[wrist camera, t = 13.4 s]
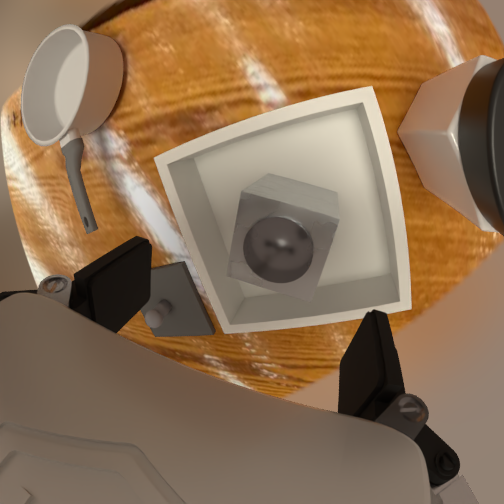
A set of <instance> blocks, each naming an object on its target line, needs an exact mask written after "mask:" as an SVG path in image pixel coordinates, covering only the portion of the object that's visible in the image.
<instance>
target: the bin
mask: <svg viewBox="0 0 504 504" xmlns="http://www.w3.org/2000/svg"><path fill="white" fill-rule="evenodd" d="M154 160H155V163H156V166H157V169H158V171H159V174H160V177H161V180H162V183H163V185H164V188H165V191H166V194H167V196H168V199H169V202H170V205H171V207H172V210H173V213H174V215H175V218H176V220H177V223H178V226H179V228H180V231H181V233H182V236H183V238H184V241H185V243H186V246H187V248H188V251H189V253H190V256H191V258H192V261H193V263H194V266H195V268H196V270H197V273H198V275H199V278H200V280H201V282H202V285H203V287H204V289H205V292H206V294H207V296H208V298H209V301H210V303H211V305H212V308H213V310H214V312H215V314H216V316H217V319H218V321H219V323H220V325H221V327H222V330H223V332H224V334H230V333H244V332H256V331H268V330H278V329H288V328H296V327H305V326H313V325H321V324H328V323H335V322H342V321H348V320H355V319H361V318H364V316H365V314H366V313H367V312H368V311H369V312H371V311H372V310H373V309H375V310H378V311H382V312H385V313H387V314H389V313H394V312H399V311H404V310H409V309H411V283H410V267H409V255H408V245H407V236H406V228H405V220H404V213H403V207H402V201H401V195H400V190H399V184H398V179H397V174H396V169H395V165H394V160H393V156H392V152H391V148H390V144H389V140H388V136H387V132H386V129H385V125H384V122H383V118H382V115H381V112H380V108H379V105H378V102H377V99H376V96H375V93H374V90H373V87H372V86H370V87H364V88H359V89H354V90H349V91H345V92H340V93H336V94H331V95H327V96H323V97H319V98H315V99H311V100H307V101H304V102H300V103H296V104H293V105H289V106H286V107H283V108H279V109H276V110H273V111H270V112H267V113H263V114H260V115H257V116H254V117H251V118H249V119H246V120H243V121H240V122H237V123H235V124H232V125H229V126H226V127H224V128H221V129H219V130H216V131H214V132H211V133H209V134H206V135H204V136H201V137H199V138H196V139H194V140H192V141H189V142H187V143H185V144H182V145H180V146H178V147H176V148H173V149H171V150H169V151H167V152H165V153H163V154H161V155H158V156H156V157H154ZM268 173H270V174H274V175H278V176H282V177H286V178H289V179H293V180H297V181H300V182H304V183H308V184H311V185H315V186H318V187H321V188H325V189H328V190H332V191H335V192H337V193H338V203H339V214H340V220H339V223H338V227H337V230H336V233H335V236H334V239H333V242H332V245H331V248H330V251H329V254H328V256H327V259H326V262H325V265H324V268H323V271H322V274H321V276H320V279H319V282H318V285H317V287H316V290H315V293H314V295H313V298H312V301H311V302H308V301H304V300H301V299H298V298H295V297H291V296H288V295H285V294H282V293H278V292H275V291H272V290H269V289H266V288H262V287H259V286H256V285H253V284H250V283H247V282H244V281H240V280H237V279H234V278H231V277H228V276H226V273H227V267H228V261H229V255H230V250H231V244H232V238H233V233H234V227H235V222H236V216H237V211H238V205H239V200H240V195H241V191H242V190H244V189H245V188H247V187H248V186H250V185H251V184H253V183H254V182H256V181H257V180H259V179H260V178H262V177H263V176H265V175H267V174H268Z"/></svg>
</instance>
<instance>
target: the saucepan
mask: <svg viewBox="0 0 504 504" xmlns="http://www.w3.org/2000/svg"><path fill="white" fill-rule="evenodd" d="M122 78H123V58H122V53H121V51H120V48H119V46H118V44H117V43H116V42H115V41H114V40H113V39H112V38H110V37H108V36H105V35H101V34H97V33H92V32H87V31H82V29H80V28H79V27H78V26H76V25H72V24H68V25H63V26H60V27H58V28H56V29H55V30H54V31H52V32H51V33H50V34H49V35H48V36H47V37H46V38H45V39H44V40H43V41H42V42H41V44H40V45H39V46H38V48H37V49H36V51H35V53H34V55H33V57H32V58H31V61H30V63H29V65H28V68H27V71H26V74H25V77H24V81H23V86H22V94H21V113H22V120H23V124H24V127H25V130H26V132H27V134H28V136H29V137H30V139H31V140H32V141H33V142H34V143H35V144H37V145H40V146H49V145H52V144H54V143H55V142H57V141H58V140H59V141H60V145H61V150H62V153H63V155H64V156H65V158H66V170H67V174H68V178H69V182H70V185H71V189H72V192H73V195H74V198H75V201H76V204H77V208H78V211H79V213H80V216H81V219H82V222H83V225H84V228H85V230H86V233H87V234H88V233H91V232H93V231H95V230H97V229H98V227H97V224H96V221H95V218H94V215H93V212H92V209H91V206H90V202H89V199H88V196H87V193H86V189H85V186H84V182H83V179H82V175H81V171H80V168H81V159H82V154H83V150H84V143H83V139H82V138H81V136H83V135H86V134H89V133H91V132H93V131H94V130H96V129H97V128H98V127H99V126H100V125H102V124H103V122H104V121H105V120H106V118H107V117H108V116H109V114H110V112H111V111H112V109H113V107H114V105H115V103H116V100H117V98H118V95H119V92H120V88H121V85H122Z"/></svg>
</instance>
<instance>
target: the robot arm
mask: <svg viewBox="0 0 504 504" xmlns="http://www.w3.org/2000/svg"><path fill="white" fill-rule="evenodd" d="M151 257H152V245H151V244H150V243H149V240H148V239H145V238H142V237H139V236H135V237H134V238H132V239H130V240H128V241H127V242H125V243H123V244H122V245H120V246H118V247H117V248H115V249H113V250H112V251H110V252H108V253H107V254H105V255H103V256H102V257H100V258H98V259H97V260H95V261H94V262H92V263H90V264H89V265H87V266H86V267H84V268H83V269H81V270H79V271H78V272H76V273H75V274H74V279H75V280H74V281H72V282H71V280H70V278H68V277H67V276H64V275H52V276H48V277H46V278H45V279H43V280H42V281H41V283H40V285H39V288H38V290H26V291H10V292H2V293H0V504H479V503H478V501H477V499H476V498H475V496H474V494H473V492H472V490H471V489H470V487H469V485H468V483H467V482H466V480H465V478H464V476H463V475H461V476H460V477H459V475H458V471H459V468H460V461H459V458H458V456H457V454H456V453H455V452H454V450H453V449H451V448H450V447H449V446H448V445H447V444H446V443H445V442H444V441H443V440H442V439H441V438H440V437H439V436H438V435H437V434H435V433H434V432H433V431H432V430H431V429H430V428H429V427H428V426H427V425H426V424H425V423H426V422H427V420H428V414H429V412H428V409H427V406H426V405H425V403H424V402H423V401H422V400H421V399H420V398H418V397H417V396H415V395H413V394H406V393H405V388H404V383H403V377H402V372H401V367H400V362H399V358H398V353H397V350H396V348H395V345H394V341H393V336H392V332H391V328H390V324H389V320H388V317H387V313H385V312H382V311H378V310H375V309H373V310H372V311H371V312H369V311H368V312H367V313H366V314H365V316H364V318H363V320H362V322H361V324H360V326H359V328H358V330H357V332H356V334H355V336H354V338H353V339H352V341H351V343H350V345H349V347H348V348H347V350H346V352H345V354H344V356H343V357H342V359H341V362H340V375H339V402H338V413H337V412H332V411H328V410H324V409H319V408H315V407H311V406H307V405H303V404H299V403H295V402H292V401H288V400H284V399H281V398H277V397H274V396H271V395H267V394H264V393H261V392H257V391H254V390H251V389H248V388H245V387H242V386H239V385H236V384H233V383H230V382H228V381H225V380H222V379H219V378H216V377H214V376H211V375H208V374H206V373H203V372H201V371H198V370H195V369H193V368H190V367H188V366H186V365H183V364H181V363H178V362H176V361H174V360H171V359H169V358H167V357H164V356H162V355H160V354H158V353H155V352H153V351H151V350H149V349H147V348H145V347H142V346H140V345H138V344H136V343H134V342H132V341H130V340H128V339H126V338H124V337H122V336H120V335H118V334H116V333H117V332H118V331H119V330H120V329H121V328H122V327H123V326H124V325H125V324H126V323H127V322H128V321H129V320H130V319H131V318H132V317H133V316H134V315H135V314H136V313H137V312H138V311H139V310H140V309H141V308H142V307H143V306H144V305H145V304H146V303H147V302H148V301H149V299H150V296H151Z"/></svg>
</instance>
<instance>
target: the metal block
mask: <svg viewBox="0 0 504 504" xmlns="http://www.w3.org/2000/svg"><path fill="white" fill-rule="evenodd" d="M339 220H340V214H339V203H338V193H337V192H335V191H332V190H328V189H325V188H321V187H318V186H315V185H311V184H308V183H304V182H300V181H297V180H293V179H289V178H286V177H282V176H278V175H274V174H270V173H268V174H267V175H265V176H263V177H262V178H260V179H259V180H257V181H256V182H254V183H253V184H251V185H250V186H248V187H247V188H245V189H244V190H242V191H241V195H240V200H239V205H238V211H237V216H236V222H235V227H234V233H233V238H232V244H231V250H230V255H229V261H228V267H227V273H226V276H228V277H231V278H234V279H237V280H240V281H244V282H247V283H250V284H253V285H256V286H259V287H262V288H266V289H269V290H272V291H275V292H278V293H282V294H285V295H288V296H291V297H295V298H298V299H301V300H304V301H308V302H311V301H312V298H313V295H314V293H315V290H316V287H317V285H318V282H319V279H320V276H321V274H322V271H323V268H324V265H325V262H326V259H327V256H328V254H329V251H330V248H331V245H332V242H333V239H334V236H335V233H336V230H337V227H338V223H339Z"/></svg>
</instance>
